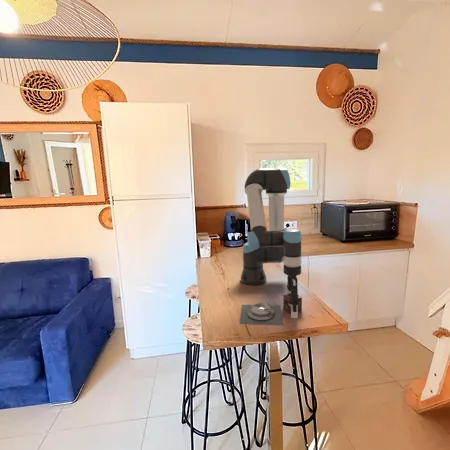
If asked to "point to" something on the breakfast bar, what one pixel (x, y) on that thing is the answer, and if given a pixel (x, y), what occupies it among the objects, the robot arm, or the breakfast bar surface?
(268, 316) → the metal bowl
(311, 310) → the breakfast bar surface
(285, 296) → the box
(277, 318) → the mat
